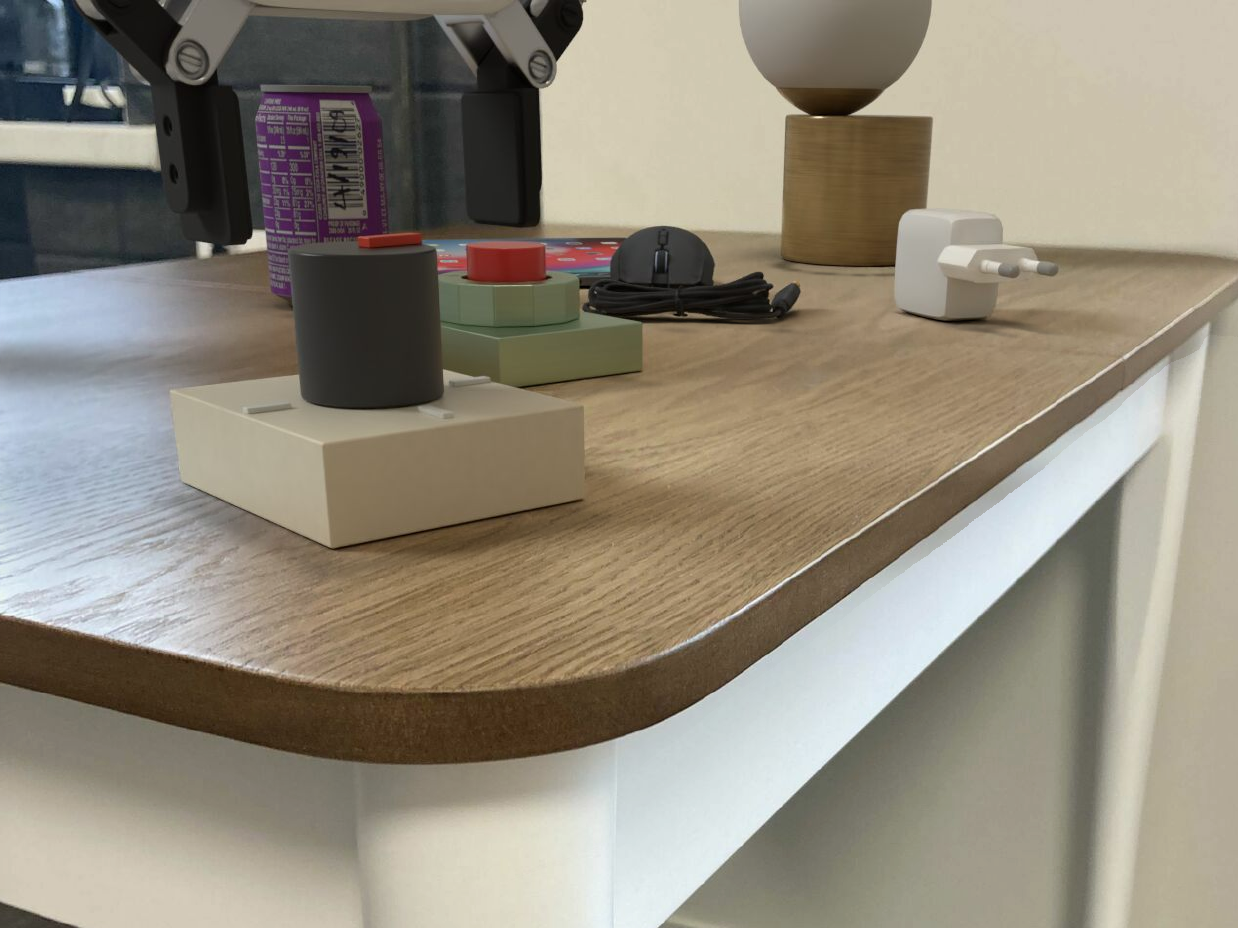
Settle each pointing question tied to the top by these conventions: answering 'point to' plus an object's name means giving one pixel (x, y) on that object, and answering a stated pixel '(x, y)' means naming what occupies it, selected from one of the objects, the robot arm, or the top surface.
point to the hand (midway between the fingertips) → (369, 232)
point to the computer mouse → (680, 281)
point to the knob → (367, 321)
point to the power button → (506, 261)
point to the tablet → (561, 255)
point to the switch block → (531, 332)
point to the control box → (379, 456)
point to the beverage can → (318, 170)
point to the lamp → (843, 122)
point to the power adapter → (957, 263)
